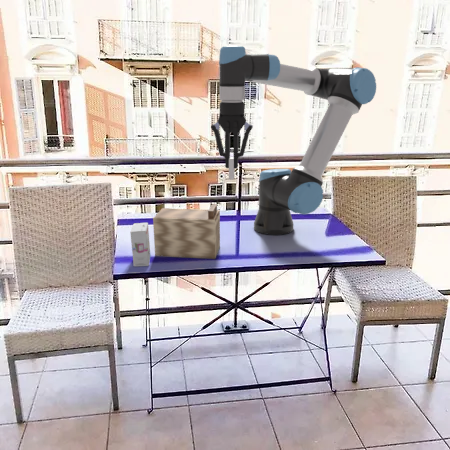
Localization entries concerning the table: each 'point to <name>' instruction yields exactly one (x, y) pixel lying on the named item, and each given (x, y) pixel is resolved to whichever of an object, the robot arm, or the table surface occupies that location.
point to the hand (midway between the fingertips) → (231, 178)
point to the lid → (189, 213)
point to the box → (187, 237)
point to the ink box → (140, 244)
